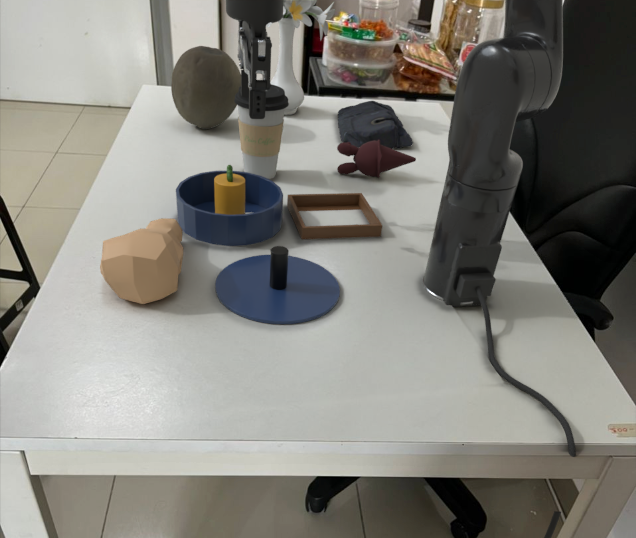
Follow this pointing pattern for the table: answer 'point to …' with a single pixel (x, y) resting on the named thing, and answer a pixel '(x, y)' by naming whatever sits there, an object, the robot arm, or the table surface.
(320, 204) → the tray
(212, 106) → the cantaloupe
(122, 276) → the squash
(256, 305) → the lid
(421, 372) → the table surface
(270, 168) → the coffee cup
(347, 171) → the icecream
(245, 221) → the pot
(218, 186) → the pineapple
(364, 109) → the dark slate chunk
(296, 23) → the flower vase
